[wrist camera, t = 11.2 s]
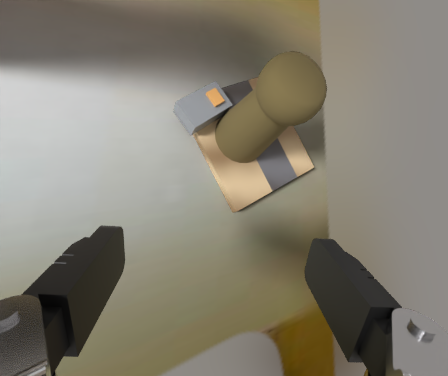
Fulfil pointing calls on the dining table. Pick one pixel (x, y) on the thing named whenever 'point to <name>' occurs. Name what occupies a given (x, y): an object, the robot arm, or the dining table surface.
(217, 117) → the block
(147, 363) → the dining table surface
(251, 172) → the plywood board
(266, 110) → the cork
